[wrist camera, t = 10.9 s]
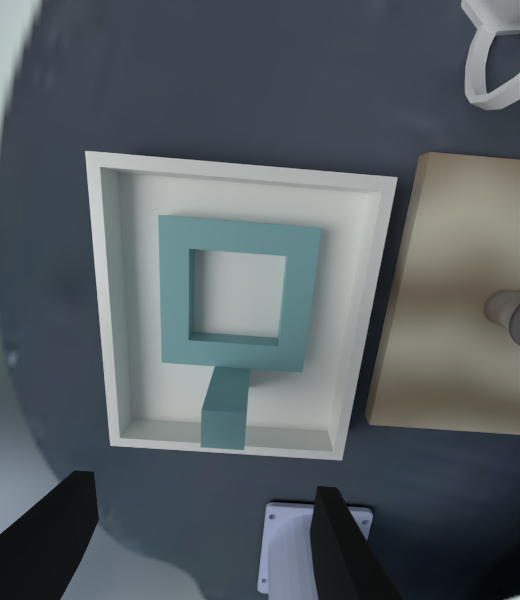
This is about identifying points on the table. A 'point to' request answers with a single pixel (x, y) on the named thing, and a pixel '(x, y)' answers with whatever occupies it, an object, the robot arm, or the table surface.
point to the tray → (233, 297)
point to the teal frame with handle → (225, 347)
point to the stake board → (454, 302)
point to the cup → (490, 22)
